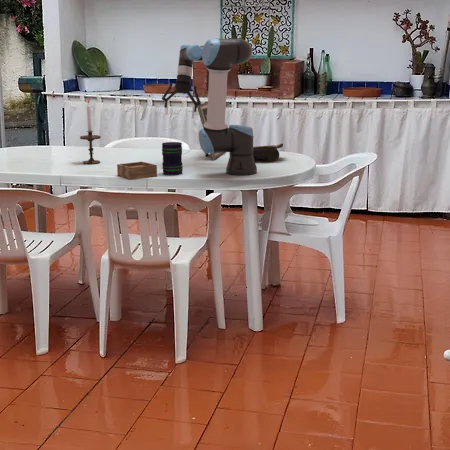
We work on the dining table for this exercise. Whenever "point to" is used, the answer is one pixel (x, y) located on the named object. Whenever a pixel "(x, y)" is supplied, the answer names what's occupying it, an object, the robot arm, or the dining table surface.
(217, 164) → the dining table surface
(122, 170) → the wooden box
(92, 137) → the candlestick
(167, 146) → the storage jar
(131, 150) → the dining table surface
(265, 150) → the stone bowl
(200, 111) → the picture frame
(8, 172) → the dining table surface
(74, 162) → the dining table surface
